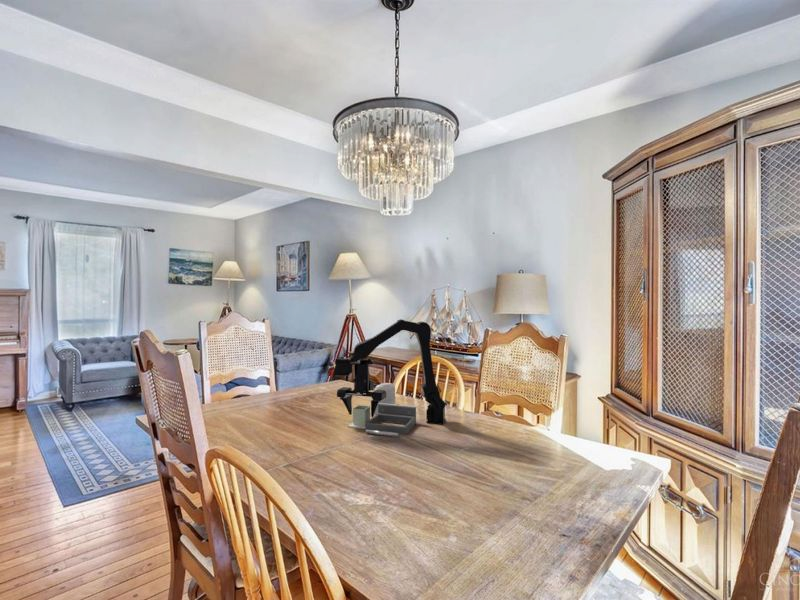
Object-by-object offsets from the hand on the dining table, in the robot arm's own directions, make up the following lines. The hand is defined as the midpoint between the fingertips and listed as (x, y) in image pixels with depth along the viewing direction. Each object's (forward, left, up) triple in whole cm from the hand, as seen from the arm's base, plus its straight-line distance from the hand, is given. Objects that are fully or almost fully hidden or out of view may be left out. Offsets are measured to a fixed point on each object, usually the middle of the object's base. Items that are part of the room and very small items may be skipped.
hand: (361, 415), depth 159 cm
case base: (-12, 0, -3) cm, 12 cm away
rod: (-12, +10, -3) cm, 16 cm away
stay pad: (0, 0, -3) cm, 3 cm away
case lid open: (-12, -7, -3) cm, 15 cm away
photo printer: (-3, -18, -3) cm, 19 cm away
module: (0, 0, -3) cm, 3 cm away
